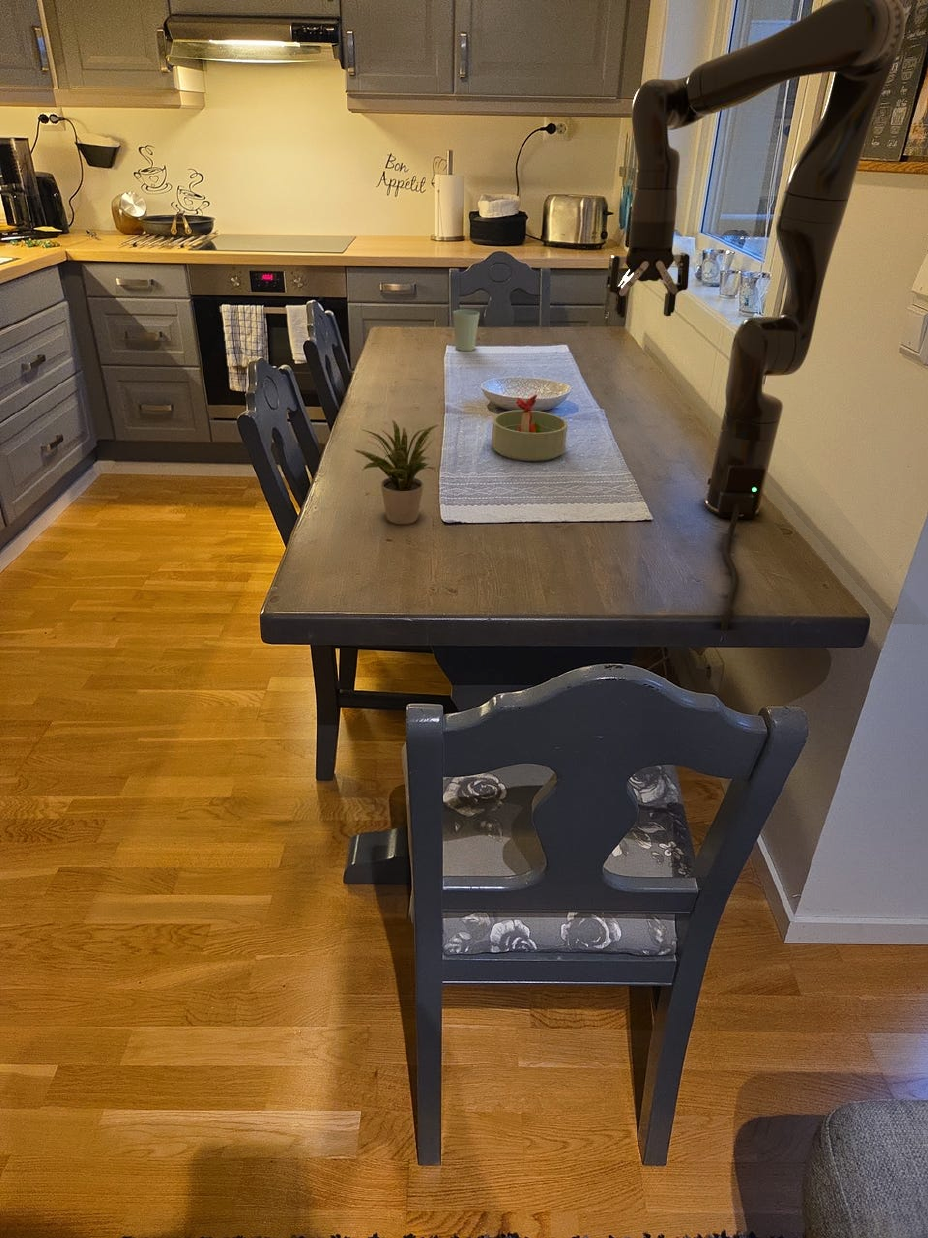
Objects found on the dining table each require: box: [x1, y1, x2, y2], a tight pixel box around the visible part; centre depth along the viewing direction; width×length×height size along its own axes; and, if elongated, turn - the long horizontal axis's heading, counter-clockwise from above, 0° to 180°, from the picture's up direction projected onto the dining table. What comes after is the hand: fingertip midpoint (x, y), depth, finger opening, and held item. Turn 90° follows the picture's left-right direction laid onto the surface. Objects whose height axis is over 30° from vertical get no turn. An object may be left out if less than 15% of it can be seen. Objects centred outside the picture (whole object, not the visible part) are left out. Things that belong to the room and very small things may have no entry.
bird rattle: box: [516, 394, 543, 433], centre depth 171 cm, size 6×11×9 cm
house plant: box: [354, 419, 440, 525], centre depth 139 cm, size 14×14×16 cm
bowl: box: [490, 409, 568, 462], centre depth 172 cm, size 15×15×6 cm
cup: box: [452, 309, 480, 352], centre depth 245 cm, size 8×8×10 cm
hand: (644, 316), depth 151 cm, fingers open, 8 cm apart
